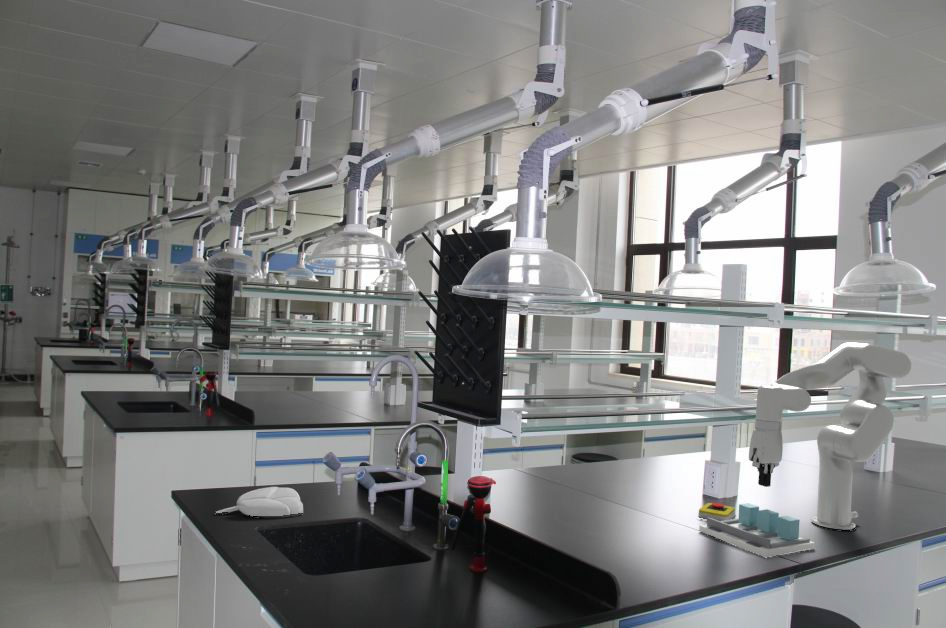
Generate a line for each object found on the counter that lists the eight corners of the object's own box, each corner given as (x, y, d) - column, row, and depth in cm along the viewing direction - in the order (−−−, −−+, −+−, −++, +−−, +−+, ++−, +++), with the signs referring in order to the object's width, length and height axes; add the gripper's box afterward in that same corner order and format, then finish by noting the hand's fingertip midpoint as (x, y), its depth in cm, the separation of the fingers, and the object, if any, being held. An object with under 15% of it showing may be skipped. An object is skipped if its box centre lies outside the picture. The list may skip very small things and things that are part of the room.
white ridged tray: (746, 525, 224) (746, 511, 224) (814, 549, 203) (815, 534, 203) (699, 532, 215) (699, 517, 215) (765, 558, 194) (766, 542, 194)
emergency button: (737, 503, 236) (725, 513, 223) (736, 516, 236) (725, 527, 223) (708, 497, 241) (695, 507, 228) (708, 511, 241) (695, 521, 228)
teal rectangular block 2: (786, 534, 208) (787, 515, 208) (798, 538, 204) (799, 519, 204) (777, 536, 206) (778, 517, 206) (789, 540, 203) (790, 521, 203)
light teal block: (766, 527, 214) (767, 509, 214) (777, 531, 211) (778, 512, 211) (757, 529, 212) (758, 510, 212) (768, 533, 209) (769, 514, 209)
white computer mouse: (308, 516, 213) (219, 532, 202) (295, 502, 229) (213, 516, 218) (307, 494, 213) (218, 509, 202) (294, 482, 228) (211, 494, 218)
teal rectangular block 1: (747, 521, 220) (748, 503, 220) (758, 524, 217) (759, 506, 217) (738, 522, 218) (739, 504, 218) (748, 526, 215) (749, 507, 215)
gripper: (774, 423, 228) (770, 481, 228) (741, 424, 220) (737, 483, 220) (795, 427, 221) (791, 487, 221) (761, 428, 214) (757, 490, 214)
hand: (764, 485), depth 221 cm, fingers closed
